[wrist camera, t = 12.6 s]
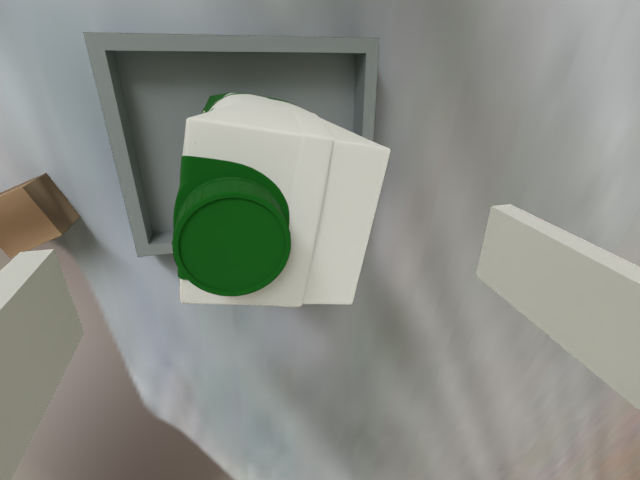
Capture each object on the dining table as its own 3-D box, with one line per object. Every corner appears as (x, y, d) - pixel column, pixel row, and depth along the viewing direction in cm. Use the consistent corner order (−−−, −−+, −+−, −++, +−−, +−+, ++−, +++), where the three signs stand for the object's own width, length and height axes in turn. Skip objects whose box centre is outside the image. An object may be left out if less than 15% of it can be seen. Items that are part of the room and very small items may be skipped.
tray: (97, 36, 25) (83, 32, 23) (365, 41, 30) (379, 38, 27) (144, 241, 32) (137, 257, 30) (357, 220, 37) (367, 232, 34)
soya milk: (198, 80, 28) (160, 98, 10) (312, 101, 30) (440, 145, 13) (192, 191, 31) (157, 351, 13) (296, 201, 34) (380, 345, 16)
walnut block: (-3, 194, 28) (-34, 211, 25) (46, 172, 28) (22, 187, 25) (35, 236, 30) (10, 258, 26) (80, 216, 30) (62, 235, 27)
